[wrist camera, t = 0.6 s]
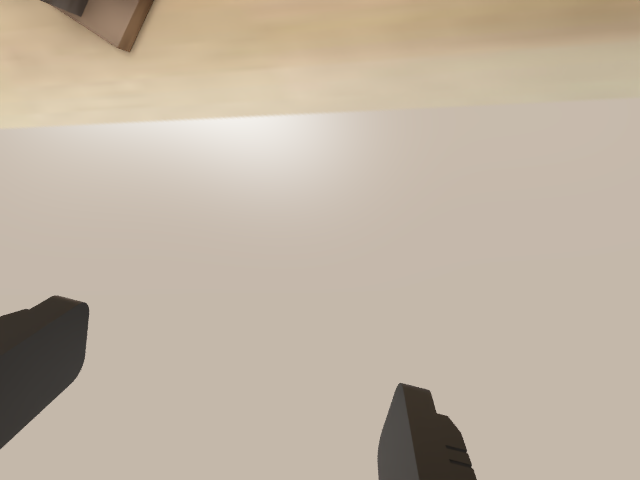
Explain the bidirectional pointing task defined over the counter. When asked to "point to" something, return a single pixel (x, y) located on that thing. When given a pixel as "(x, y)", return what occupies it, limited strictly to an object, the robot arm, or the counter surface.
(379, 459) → the robot arm
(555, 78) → the counter surface
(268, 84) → the counter surface
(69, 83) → the counter surface
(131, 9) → the base
